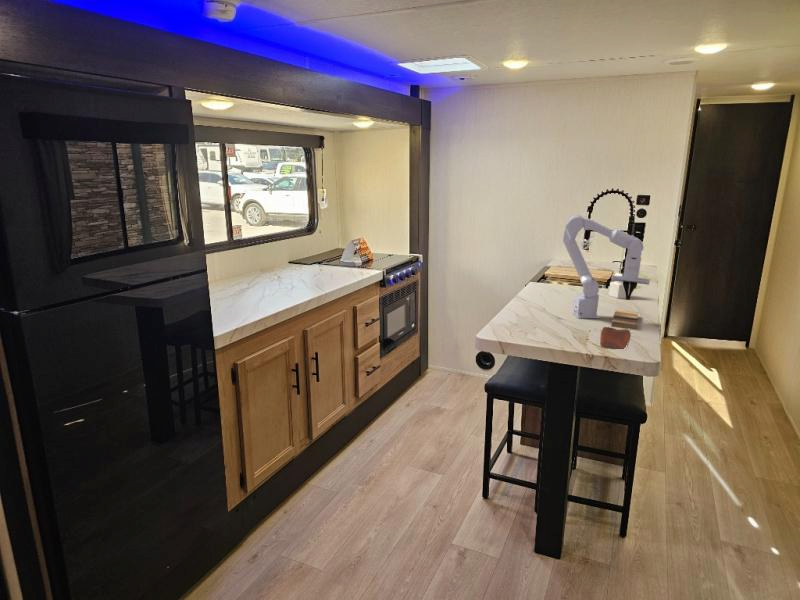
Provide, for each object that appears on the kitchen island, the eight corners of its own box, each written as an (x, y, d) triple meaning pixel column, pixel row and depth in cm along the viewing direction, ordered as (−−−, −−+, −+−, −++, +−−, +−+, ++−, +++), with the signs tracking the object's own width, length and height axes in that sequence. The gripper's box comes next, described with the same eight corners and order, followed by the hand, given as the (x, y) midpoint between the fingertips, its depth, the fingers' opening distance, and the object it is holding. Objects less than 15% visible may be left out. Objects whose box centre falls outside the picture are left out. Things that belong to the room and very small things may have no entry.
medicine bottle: (620, 294, 267) (623, 271, 264) (629, 298, 260) (632, 274, 257) (608, 295, 265) (611, 272, 262) (617, 298, 258) (620, 275, 255)
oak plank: (636, 323, 217) (636, 318, 217) (613, 319, 221) (613, 315, 220) (637, 316, 227) (638, 312, 226) (615, 313, 230) (615, 309, 230)
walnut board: (635, 329, 209) (636, 323, 208) (611, 326, 212) (612, 320, 212) (636, 324, 216) (637, 318, 215) (612, 321, 219) (613, 315, 219)
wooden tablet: (602, 329, 211) (602, 325, 210) (629, 332, 207) (629, 328, 206) (596, 348, 187) (597, 344, 187) (627, 353, 183) (627, 348, 183)
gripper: (651, 267, 216) (646, 299, 220) (614, 264, 222) (610, 295, 226) (651, 270, 210) (646, 303, 213) (612, 266, 216) (608, 298, 220)
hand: (627, 299), depth 219 cm, fingers closed
